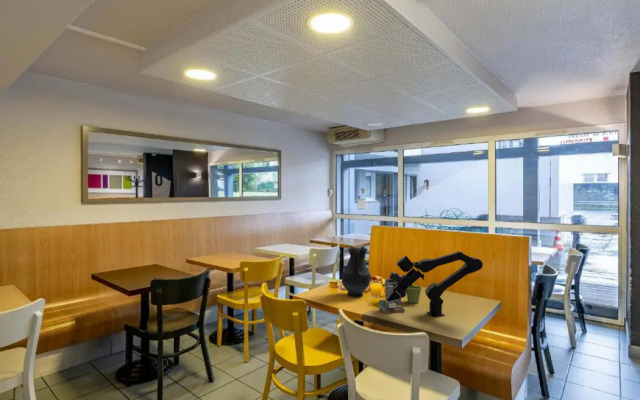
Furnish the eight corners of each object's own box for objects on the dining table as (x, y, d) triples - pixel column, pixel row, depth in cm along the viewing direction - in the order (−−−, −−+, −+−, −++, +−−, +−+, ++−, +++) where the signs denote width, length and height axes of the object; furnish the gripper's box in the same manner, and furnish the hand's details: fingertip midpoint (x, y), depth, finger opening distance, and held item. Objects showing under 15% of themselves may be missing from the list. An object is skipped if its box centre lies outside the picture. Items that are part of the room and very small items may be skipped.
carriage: (391, 304, 193) (392, 285, 193) (395, 307, 188) (396, 287, 188) (384, 305, 192) (385, 285, 192) (388, 307, 187) (389, 287, 187)
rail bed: (400, 309, 194) (400, 297, 194) (404, 312, 189) (404, 300, 189) (379, 310, 191) (379, 298, 191) (383, 313, 186) (383, 301, 186)
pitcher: (369, 292, 228) (370, 244, 228) (370, 301, 207) (372, 248, 207) (341, 291, 230) (342, 243, 230) (340, 299, 209) (341, 247, 209)
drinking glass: (404, 300, 211) (405, 280, 211) (398, 305, 202) (399, 283, 202) (387, 298, 216) (388, 277, 216) (381, 302, 207) (382, 280, 207)
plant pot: (402, 302, 207) (403, 287, 207) (407, 299, 215) (407, 284, 215) (419, 305, 202) (419, 289, 202) (423, 301, 211) (423, 286, 211)
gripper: (398, 263, 198) (377, 282, 200) (399, 270, 180) (376, 291, 182) (412, 279, 197) (391, 298, 199) (415, 287, 179) (392, 308, 181)
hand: (387, 298), depth 190 cm, fingers open, 9 cm apart
